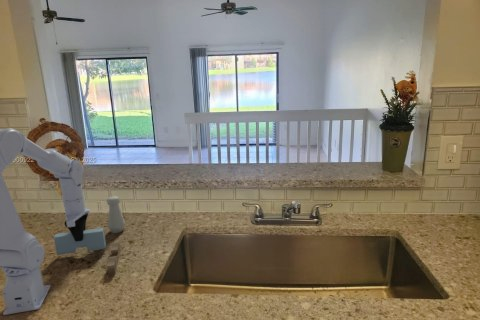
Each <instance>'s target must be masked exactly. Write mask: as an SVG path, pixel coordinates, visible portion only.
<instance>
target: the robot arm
mask: <svg viewBox="0 0 480 320" xmlns="http://www.w3.org/2000/svg"><path fill="white" fill-rule="evenodd" d="M58 151H59V150H58V149H57V148H55V147H54V148H53V147H52V148H43V147H41V146H40V145H38V144H37V143H35V142H33V141H32V140H30V139H29V138H27V137H26V135H25V134H24V133H23V132H20V131H18V130H17V129H15V128H0V268H1V270H2V272H3V273H4V274H5V280H6V281H5V285H4V286H3V289H2V296H3V300H4V301H3V302H4V304H5V309H4V311H3V312H2V314H3V316H6V315H11V314H19V313H23V312H24V313H25V312H30V311H34V310H35V311H36V310H39V309H41V306H42V305H43V303H44V301H45V298H46V296H47V295H48V293H49V290H50V289H51V285H50V284H47V285H44V281H43V276H42V270H41V267H40V266H41V265H42V263H43V261H44V259H45V253H46V252H45V248H44V246H43V245H42V243H40V242H39V241H38V239H37V237H36V236H34V235H33V234H31V232H29V231H26V230H25V228H24V225H23V223H22V219H21V218H20V215H19V213H18V211H17V208H16V205H15V203H14V201H13V198H12V196H11V194H10V192H9V189H8V187H7V185H6V182H5V179H4V177H3V172H4V170H6V169H7V168H8V167H9V166H11V164H12V163H13V162H14V160H15V159H16V158H17V157H18V155H22V156H25V157H27V158H28V159H29V158H30V159H32V160H34V161H36V163H37V165H38V167H40V168H41V169H43V170H46V171H48V172H49V173H52V176H53V177H54V178H55V179H58V180H59V186H60V191H61V195H62V196H61V197H62V202H63V208H64V217H65V219H66V220H65V221H64V226H65V227H66V228H67V230H69V232H71V234H72V236H73V238H74V240H75V241H82V240H83V230H86V224H87V220H88V216H89V213H90V212H91V209H90V208H86V202H85V197H84V191H83V185H82V183H83V180H84V179H83V174H84V171H85V169H84V168H85V167H84V166H83V164H82V162H81V161H79V160H78V159H71V158H70V157H69V156H68V155H66V154H65V155H64V154H62V153H60V152H58Z"/></svg>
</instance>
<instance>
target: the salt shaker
mask: <svg viewBox="0 0 480 320" xmlns="http://www.w3.org/2000/svg"><path fill="white" fill-rule="evenodd" d="M120 202H121V198H120V196H117V195H114V196H113V195H112V196H109V197H107V199H106V204H107V205H108V206H109V207H108V208H109V210H108V221H107V222H108V224H107V228H108V229H109V231H110V232H111V233H112V234H119V233H123V231H124V229H125V225H126V221H125V219H124V216H123V213H122V209H121V207H120Z"/></svg>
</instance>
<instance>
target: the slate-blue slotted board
mask: <svg viewBox="0 0 480 320" xmlns="http://www.w3.org/2000/svg"><path fill="white" fill-rule="evenodd" d="M53 241H54V246H55V251H56V255H57V256H60V255H67V254H73V253H76V252H77V250H78V249H79V248H86V251H88V252H89V251H96V250H104V249H106V246H107V241H106V235H105V228H104V227H101V228H94V229H93V228H92V229H91V228H90V229H85V230H83V240H82V241H75V240H74V238H73V236H72V234H71V232H70V231H69V232H61V233H60V232H59V233H55V235H54V237H53Z"/></svg>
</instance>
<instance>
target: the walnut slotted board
mask: <svg viewBox="0 0 480 320" xmlns="http://www.w3.org/2000/svg"><path fill="white" fill-rule="evenodd" d="M110 253H111V255H110V256H108V259H107V264H106V270H107V271H106V272H107V276H113V275H117V274H116V273H117V269H118V266H119V265H118V264H119V259H120V253H121V245H120V241H115V242H112V243H111V249H110Z"/></svg>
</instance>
